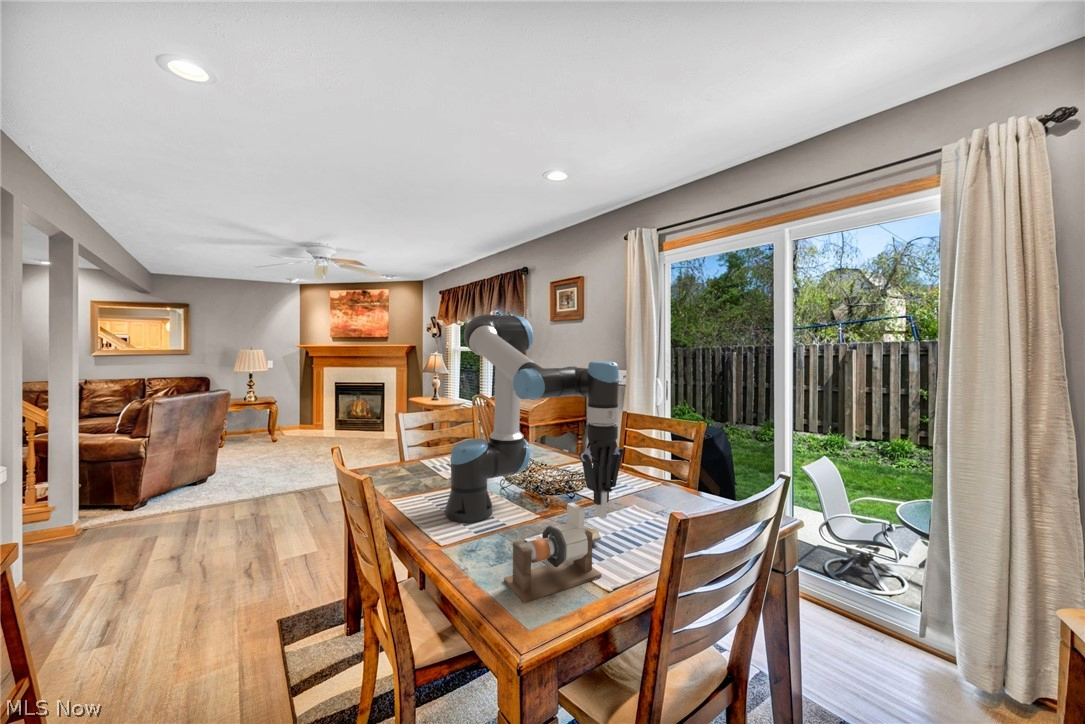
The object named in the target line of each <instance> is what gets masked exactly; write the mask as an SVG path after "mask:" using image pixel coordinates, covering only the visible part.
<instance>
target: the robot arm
mask: <svg viewBox="0 0 1085 724" xmlns="http://www.w3.org/2000/svg"><path fill="white" fill-rule="evenodd" d="M463 340H464V343H465V345H466V347H467V348H468V349H469V350H470V351H471V352H472V353H474V354H475V355H477V356H482V357H484V358H485V360H487V361H488V362H489V363H490V364H492V365H493V366H494V367H495V370H494V374H495V375H494V411H493V412H494V417H493V419H494V420H493V421H494V422H493V427H494V428H493V431H492V432H491V433H490V434H489V440H488V441H489V442H488V441H487V440H486V439H483V438H475V439H473V438H470V439H466V440H462V441H459V442H457V443H456V444H454V446H453V447H452V448H451V451H450V452H451V454H450V460H449V461H450V493H449V494H448V495H449V496H448V499H447V502H446V505H445V517H446V518H447V519H448V520H450V521H453V522H457V523H475V522H481V521H483V520H486V519H488V518H490V517H491V516H492V515H493V503H492V500H491V496H490V493H489V490H488V480H490V479H494V478H498V477H504V476H505V477H506V476H511V475H512V476H513V475H515V474H519V473H522V472H524V470H526V469H527V467H528V465H529V463H530V461H531V459H530V458H531V449H530V446H529V445H530V444H529V443H528V441H527V440H526V439H525V437H524V434H523V433H522V432H521V431H520V420H521V419H520V418H521V417H520V416H521V413H520V412H521V400H530V401H534V400H535V401H536V400H540V399H541V400H542V399H550V398H565V397H583V398H584V397H585V398H587V418H586V419H587V422H588V423H587V427H586V428H587V433H586V436H587V439H588V443H587V444H586V449H585V451H584V452H579V453H578V458H579V459H580V461H581V463H582V469H583V474H584V478H585V484H586V488H587V490H590V491H592V492H593V504H594V506H595V509H594V510H595V516H597V517H598V518H600V519H605V518H606V519H607V517H608V515H607V514H608V510H607V509H608V503H609V502H610V493H611V492H613V488H615V487H616V485H617V481H618V477H619V476H618V475H619V472H620V466H621V462H622V458H623V456H624V454H625V449H624V448H620V447H619V446H618V442H617V440H618V435H619V434H618V431H619V429H618V428H619V426H618V424H617V423H619V422H618V421H619V419H618V418H619V383H620V375H619V365H618V363H616V362H615V361H605V360H603V361H600V360H599V361H598V360H596V361H595V360H594V361H590V362H589V363H588V367H587V368H586V367H578V366H574V365H573V366H564V367H557V368H556V367H552V368H548V367H547V368H544V367H541V366H540V365H538V364H537V363H536V362H534V361H533V360H532V359H530V358H529V357H527V354H526V352H527V351H528V350H530V349H531V347H532V345H533V343H534V331H533V328H532V325H531V323H529V321H528V319H527V318H526V317H523V316H518V315H507V314H505V315H503V314H502V315H501V314H481V315H477V316H474V317H473V318H471V320H469V321H468V322H467V324H466V326H465V327H464V332H463Z"/></svg>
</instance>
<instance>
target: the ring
mask: <svg viewBox="0 0 1085 724" xmlns="http://www.w3.org/2000/svg"><path fill="white" fill-rule="evenodd" d="M550 533H551V534H552V535H554V537H555V539H556V542H557V545H558V558H557V559H555V558H553V557H550V558H548V559H546V560H547V561H548V563H550V564H552V565H553V566H554V567H558V566H559V565H560V564H561V563H562V562H563V561H564V543H563V541H562V538H561V536H560V533H559V531H557V530H556V529H555V528H553V526H552V525H547V527H546V528H545V529H544V530H543V532H542V533H541V534H542V535H541V536H542V537H541V538H547V537H549V534H550Z"/></svg>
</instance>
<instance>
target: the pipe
mask: <svg viewBox="0 0 1085 724" xmlns="http://www.w3.org/2000/svg"><path fill="white" fill-rule="evenodd" d="M583 529H584V528H583ZM584 531H585V532H586V530H585V529H584ZM560 536H561V535H560ZM545 539H546V540H547V542H548V544H549V547H550V557H554V556H558V545H557V542H556V539H555V537H554V536H551V537H549V536H548V537H547V538H545ZM519 546H520V547H521V548H524V547H529V548H530V549H531V564H534V563H533V562H535V561H536V550H535V547H534V545H533V544H532V543H531V542H529V541H528V542H523V544H520V545H519ZM550 557H549V558H550ZM535 563H536V562H535Z"/></svg>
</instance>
